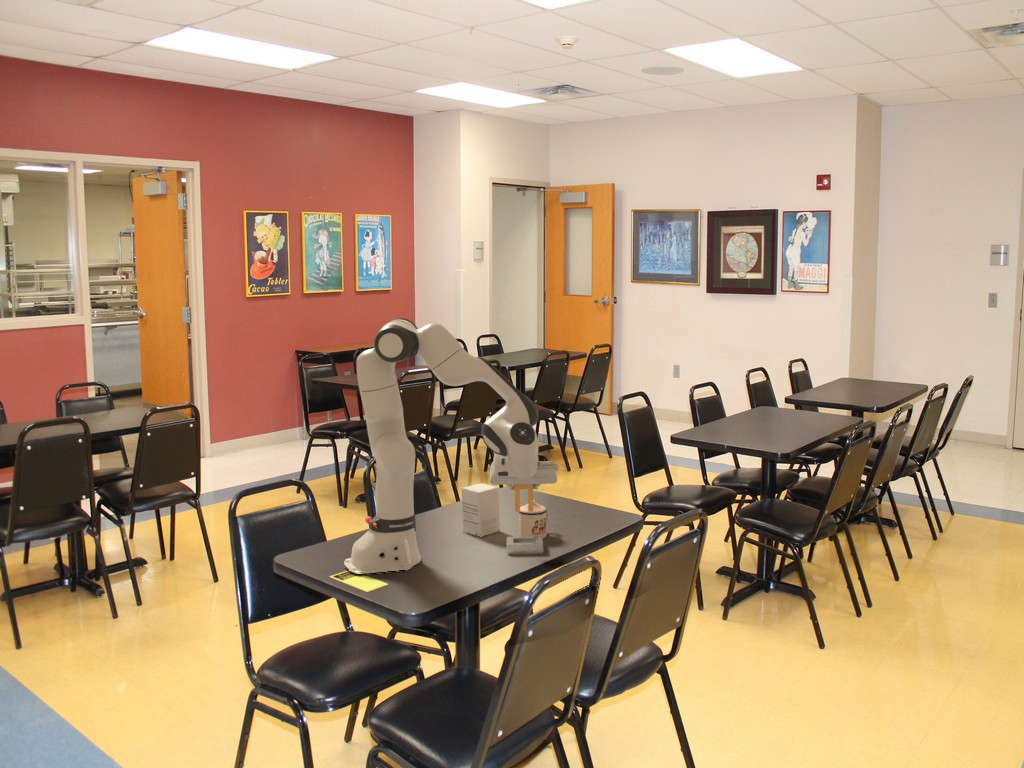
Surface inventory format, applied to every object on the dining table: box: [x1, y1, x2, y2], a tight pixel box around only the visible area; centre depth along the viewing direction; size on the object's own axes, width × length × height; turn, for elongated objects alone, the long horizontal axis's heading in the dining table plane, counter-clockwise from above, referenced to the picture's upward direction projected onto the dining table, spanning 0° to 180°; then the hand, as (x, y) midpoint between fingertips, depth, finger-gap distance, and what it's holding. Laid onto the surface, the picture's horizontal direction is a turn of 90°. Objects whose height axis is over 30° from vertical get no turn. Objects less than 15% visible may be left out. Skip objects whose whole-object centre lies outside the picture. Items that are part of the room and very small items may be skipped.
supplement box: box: [461, 482, 501, 538], centre depth 289 cm, size 9×9×15 cm
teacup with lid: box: [518, 499, 549, 539], centre depth 284 cm, size 12×9×12 cm
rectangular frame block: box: [506, 536, 544, 555], centre depth 270 cm, size 8×11×3 cm
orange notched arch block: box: [514, 484, 534, 513], centre depth 267 cm, size 6×3×12 cm, turn 90°
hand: (523, 487), depth 268 cm, fingers closed on orange notched arch block, 5 cm apart
